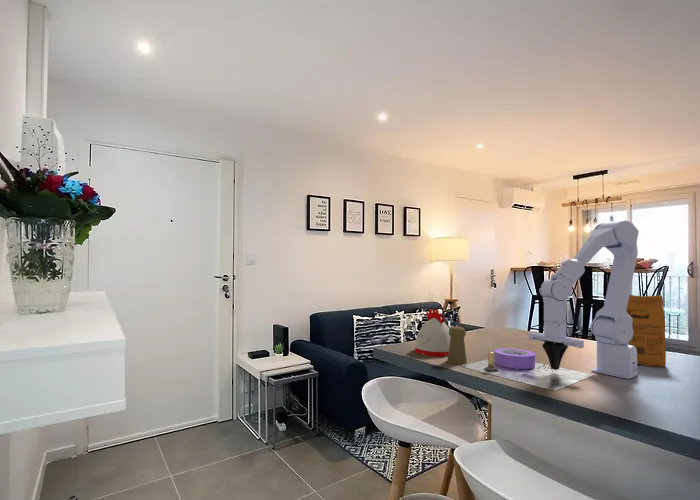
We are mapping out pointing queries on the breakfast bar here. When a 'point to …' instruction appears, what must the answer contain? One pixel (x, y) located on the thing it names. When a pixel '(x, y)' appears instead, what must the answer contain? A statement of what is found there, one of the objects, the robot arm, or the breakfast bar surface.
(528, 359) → the masking tape
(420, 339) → the kitchen timer
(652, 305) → the coffee package
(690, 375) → the breakfast bar surface
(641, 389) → the breakfast bar surface
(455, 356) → the cork
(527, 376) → the light grey flat board
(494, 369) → the fixed brass pin
